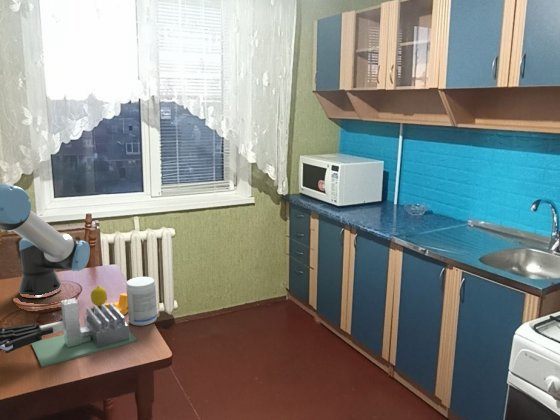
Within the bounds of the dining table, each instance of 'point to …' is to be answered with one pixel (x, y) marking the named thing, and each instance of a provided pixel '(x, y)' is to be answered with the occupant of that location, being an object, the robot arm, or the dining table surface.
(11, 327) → the robot arm
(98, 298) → the lemon
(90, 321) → the heatsink
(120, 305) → the pipe clamp
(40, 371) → the dining table surface
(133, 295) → the supplement tub
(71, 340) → the white upright block
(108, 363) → the dining table surface
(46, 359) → the board
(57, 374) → the dining table surface
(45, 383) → the dining table surface
